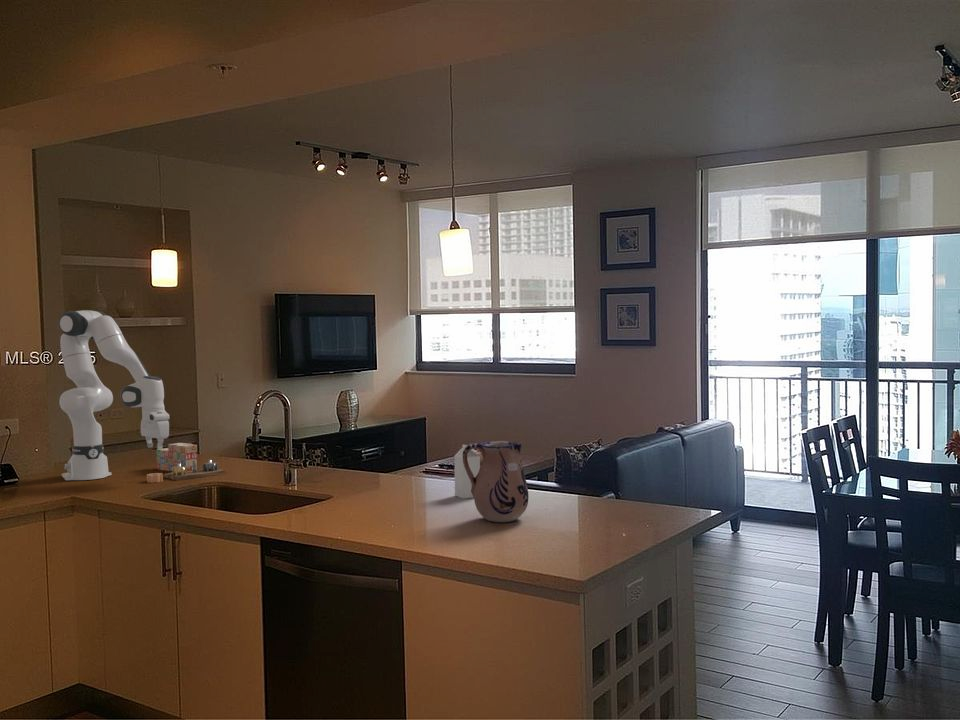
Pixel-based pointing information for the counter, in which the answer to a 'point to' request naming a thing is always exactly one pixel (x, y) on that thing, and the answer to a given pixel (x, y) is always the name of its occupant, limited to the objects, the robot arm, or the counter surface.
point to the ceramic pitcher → (498, 481)
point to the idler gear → (155, 477)
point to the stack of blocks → (176, 456)
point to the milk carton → (461, 475)
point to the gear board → (193, 473)
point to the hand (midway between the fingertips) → (155, 448)
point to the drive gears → (183, 469)
